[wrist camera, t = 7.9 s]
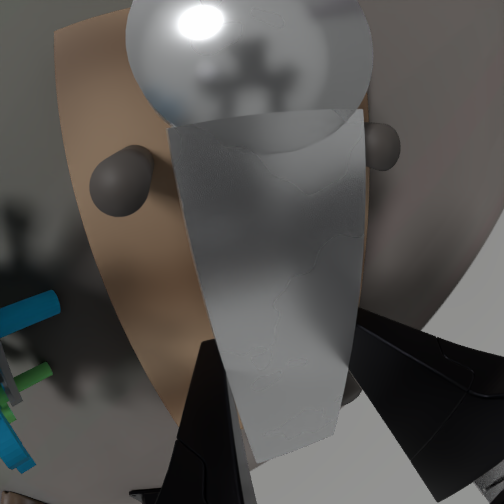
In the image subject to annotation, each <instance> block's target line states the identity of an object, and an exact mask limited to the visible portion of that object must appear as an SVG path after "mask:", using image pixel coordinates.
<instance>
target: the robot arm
mask: <svg viewBox="0 0 504 504" xmlns="http://www.w3.org/2000/svg"><path fill="white" fill-rule="evenodd" d="M348 368H349V370H350V371H351V373H352V374H353V376H354V377H355V379H356V380H357V382H358V383H359V385H360V386H361V388H362V389H363V391H364V392H365V394H366V395H367V396H368V398H369V399H370V401H371V402H372V404H373V405H374V407H375V408H376V410H377V411H378V413H379V414H380V416H381V417H382V419H383V420H384V422H385V423H386V425H387V426H388V428H389V429H390V430H391V432H392V434H393V435H394V437H395V438H396V440H397V441H398V443H399V444H400V446H401V448H402V449H403V451H404V452H405V454H406V455H407V457H408V458H409V460H411V463H412V465H413V466H414V468H415V469H416V471H417V472H418V474H419V475H420V477H421V478H422V480H423V481H424V483H425V485H426V486H427V488H428V489H429V491H430V492H431V494H432V495H433V497H434V499H435V500H436V501H437V502H440V501H442V500H444V499H446V498H448V497H449V496H451V495H453V494H454V493H456V492H458V491H460V490H461V489H463V488H464V487H466V486H468V485H469V484H471V483H472V482H473V483H474V484H475V485H476V486H477V488H478V489H479V491H480V492H481V493H482V495H484V496H485V497H486V499H487V500H488V501H489V503H490V504H504V357H502V356H498V355H494V354H490V353H487V352H483V351H478V350H475V349H472V348H468V347H465V346H461V345H458V344H455V343H452V342H449V341H446V340H444V339H441V338H439V337H437V338H436V337H435V336H433V335H430V334H428V333H425V332H422V331H420V330H417V329H414V328H412V327H409V326H406V325H404V324H401V323H399V322H396V321H393V320H391V319H388V318H385V317H383V316H380V315H378V314H375V313H372V312H370V311H367V310H365V309H362V308H359V307H358V310H357V318H356V325H355V332H354V339H353V345H352V351H351V356H350V361H349V366H348ZM177 439H178V440H176V441H175V445H174V449H173V453H172V457H171V461H170V464H169V468H168V471H167V474H166V476H165V479H164V482H163V485H162V488H161V489H158V490H146V491H130V492H129V496H131V497H133V498H135V499H136V500H138V501H140V502H142V504H257V502H256V498H255V494H254V489H253V485H252V481H251V476H250V472H249V467H248V463H247V458H246V453H245V448H244V444H243V439H242V434H241V429H240V424H239V419H238V414H237V409H236V405H235V402H234V398H233V395H232V391H231V388H230V384H229V381H228V377H227V374H226V370H225V369H224V366H223V363H222V360H221V357H220V353H219V350H218V347H217V344H216V341H215V339H210V340H206V341H202V342H201V344H200V348H199V352H198V355H197V359H196V363H195V367H194V371H193V374H192V378H191V382H190V386H189V390H188V394H187V398H186V401H185V405H184V409H183V413H182V417H181V421H180V425H179V429H178V434H177Z"/></svg>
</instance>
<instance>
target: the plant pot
mask: <svg viewBox="0 0 504 504" xmlns="http://www.w3.org/2000/svg"><path fill="white" fill-rule="evenodd" d="M1 504H45V503H42V502H39V501H37V500H35V499H33V498H30V497H27V496H24V495H19V494H17V493H13V492H9V493H8V492H6V491H3V492H2V497H1Z"/></svg>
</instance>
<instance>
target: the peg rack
mask: <svg viewBox="0 0 504 504" xmlns="http://www.w3.org/2000/svg"><path fill="white" fill-rule="evenodd" d="M129 11H130V8H127V9H122V10H118V11H114V12H110V13H107V14H103V15H100V16H96V17H93V18H90V19H87V20H84V21H81V22H78V23H75V24H72V25H69V26H67V27H64V28H61V29H59V30H56V31H54V60H55V78H56V91H57V100H58V109H59V117H60V124H61V130H62V136H63V142H64V148H65V153H66V158H67V163H68V168H69V172H70V177H71V181H72V185H73V189H74V193H75V197H76V201H77V204H78V208H79V212H80V215H81V219H82V222H83V225H84V228H85V232H86V235H87V238H88V241H89V244H90V247H91V250H92V253H93V256H94V259H95V261H96V264H97V267H98V269H99V272H100V275H101V277H102V280H103V283H104V285H105V288H106V290H107V292H108V295H109V297H110V300H111V302H112V304H113V307H114V309H115V311H116V314H117V316H118V318H119V320H120V322H121V325H122V327H123V329H124V331H125V333H126V335H127V337H128V339H129V341H130V343H131V345H132V347H133V349H134V351H135V353H136V355H137V357H138V359H139V361H140V363H141V365H142V367H143V369H144V370H145V372H146V374H147V376H148V378H149V379H150V381H151V383H152V385H153V386H154V388H155V390H156V392H157V393H158V395H159V397H160V398H161V400H162V402H163V403H164V405H165V406H166V408H167V410H168V411H169V413H170V414H171V416H172V418H173V419H174V421H175V422H176V424H177V425H178V427H179V425H180V421H181V417H182V413H183V409H184V405H185V401H186V398H187V394H188V390H189V386H190V382H191V378H192V374H193V371H194V367H195V363H196V359H197V355H198V352H199V348H200V344H201V342H202V341H206V340H210V339H214V337H213V333H212V330H211V326H210V323H209V319H208V315H207V312H206V308H205V305H204V301H203V297H202V293H201V290H200V286H199V282H198V278H197V274H196V270H195V266H194V262H193V258H192V254H191V250H190V246H189V242H188V237H187V233H186V229H185V224H184V220H183V215H182V211H181V206H180V202H179V197H178V192H177V187H176V182H175V177H174V172H173V167H172V162H171V156H170V151H169V145H168V140H167V134H166V128H170V126H169V125H167V124H166V123H165V122H164V121H163V120H162V119H161V118H160V117H159V116H158V115H157V114H156V113H155V112H154V110H153V109H152V108H151V106H150V105H149V103H148V101H147V99H146V98H145V96H144V94H143V92H142V90H141V89H140V87H139V85H138V83H137V81H136V79H135V78H134V75H133V72H132V70H131V67H130V64H129V61H128V56H127V50H126V25H127V19H128V14H129ZM357 109H363V116H364V133H365V162H366V201H365V231H364V248H363V262H362V274H361V284H360V294H359V302H360V295H361V288H362V280H363V271H364V261H365V251H366V239H367V226H368V208H369V176H370V168H373V169H376V170H379V171H386V170H389V169H391V168H392V167H393V166H394V165H395V164H396V162H397V160H398V158H399V155H400V140H399V136H398V134H397V132H396V131H395V130H394V129H393V128H392V127H391V126H389V125H387V124H379V123H370V122H369V116H368V99H367V92H366V94H365V96H364V98H363V100H362V102H361V104H360V105H359V107H358V108H357ZM359 302H358V307H359ZM360 393H361V388H360V387H359V385H358V384H357V383H356V381H355V380H354V379H353V377H352V376H351V374H350V373H349V372H348V373H347V378H346V383H345V388H344V393H343V397H342V402H341V406H342V405H346V404H348V403H350V402H352V401H353V400H354V399H355V398H357V397H358V396H359V394H360ZM237 414H238V412H237ZM238 419H239V424H240V429H243V426H242V423H241V421H240V418H239V415H238Z"/></svg>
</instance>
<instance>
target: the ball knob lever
mask: <svg viewBox="0 0 504 504" xmlns="http://www.w3.org/2000/svg"><path fill="white" fill-rule="evenodd" d="M126 50H127V56H128V61H129V64H130V67H131V70H132V72H133V75H134V78H135V79H136V81H137V83H138V85H139V87H140V89H141V90H142V92H143V94H144V96H145V98H146V99H147V101H148V103H149V105H150V106H151V108H152V109H153V110H154V112H155V113H156V114H157V115H158V116H159V117H160V118H161V119H162V120H163V121H164V122H165V123H166V124H167V125H169V126H170V128H166V134H167V140H168V145H169V151H170V156H171V162H172V167H173V172H174V177H175V182H176V187H177V192H178V197H179V202H180V206H181V211H182V215H183V220H184V224H185V229H186V233H187V237H188V242H189V246H190V250H191V254H192V258H193V262H194V266H195V270H196V274H197V278H198V282H199V286H200V290H201V293H202V297H203V301H204V305H205V308H206V312H207V315H208V319H209V323H210V326H211V330H212V333H213V337H214V339H215V341H216V344H217V347H218V350H219V353H220V357H221V360H222V363H223V366H224V369H225V370H226V374H227V377H228V381H229V384H230V388H231V391H232V395H233V398H234V402H235V405H236V409H237V412H238V415H239V418H240V421H241V423H242V426H243V429H244V432H245V434H246V437H247V440H248V442H249V445H250V447H251V450H252V453H253V455H254V458H255V460H256V463H260V462H264V461H267V460H270V459H273V458H276V457H279V456H282V455H284V454H287V453H290V452H293V451H295V450H298V449H300V448H303V447H306V446H308V445H310V444H313V443H315V442H318V441H320V440H322V439H325V438H327V437H329V436H331V435H333V434H334V431H335V427H336V422H337V419H338V414H339V410H340V406H341V402H342V397H343V393H344V388H345V383H346V378H347V373H348V366H349V361H350V356H351V351H352V345H353V339H354V332H355V325H356V318H357V310H358V302H359V294H360V284H361V274H362V262H363V248H364V231H365V201H366V162H365V133H364V116H363V109H357V108H358V107H359V105H360V104H361V102H362V100H363V98H364V96H365V94H366V92H367V89H368V86H369V83H370V79H371V75H372V69H373V44H372V38H371V33H370V29H369V26H368V23H367V20H366V17H365V15H364V13H363V11H362V9H361V7H360V5H359V3H358V1H357V0H133V3H132V5H131V8H130V11H129V14H128V19H127V25H126Z"/></svg>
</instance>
